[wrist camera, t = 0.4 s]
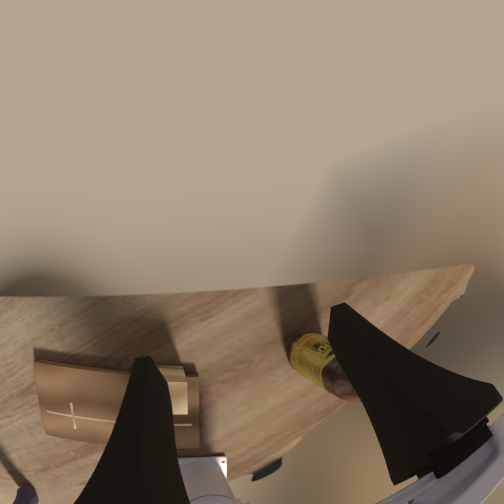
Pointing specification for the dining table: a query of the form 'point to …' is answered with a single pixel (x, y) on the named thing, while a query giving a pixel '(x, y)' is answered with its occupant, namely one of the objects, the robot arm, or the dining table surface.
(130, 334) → the dining table surface
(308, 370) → the sauce bottle
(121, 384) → the walnut board
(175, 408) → the light wooden block
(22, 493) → the rubber mallet
